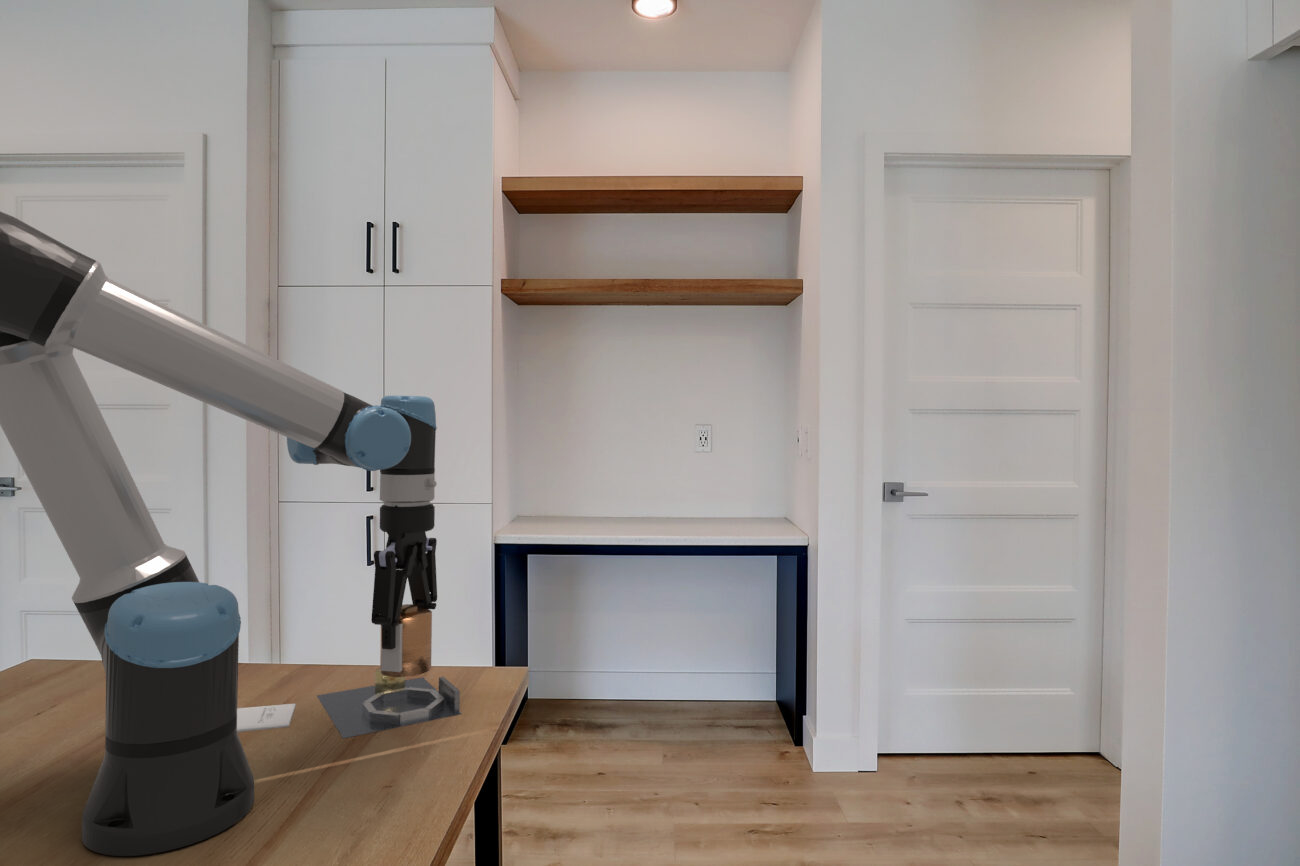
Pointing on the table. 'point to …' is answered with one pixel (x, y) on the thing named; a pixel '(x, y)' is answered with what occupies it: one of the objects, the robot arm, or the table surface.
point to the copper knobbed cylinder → (413, 642)
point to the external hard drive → (264, 717)
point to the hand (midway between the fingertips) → (405, 661)
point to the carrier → (390, 704)
